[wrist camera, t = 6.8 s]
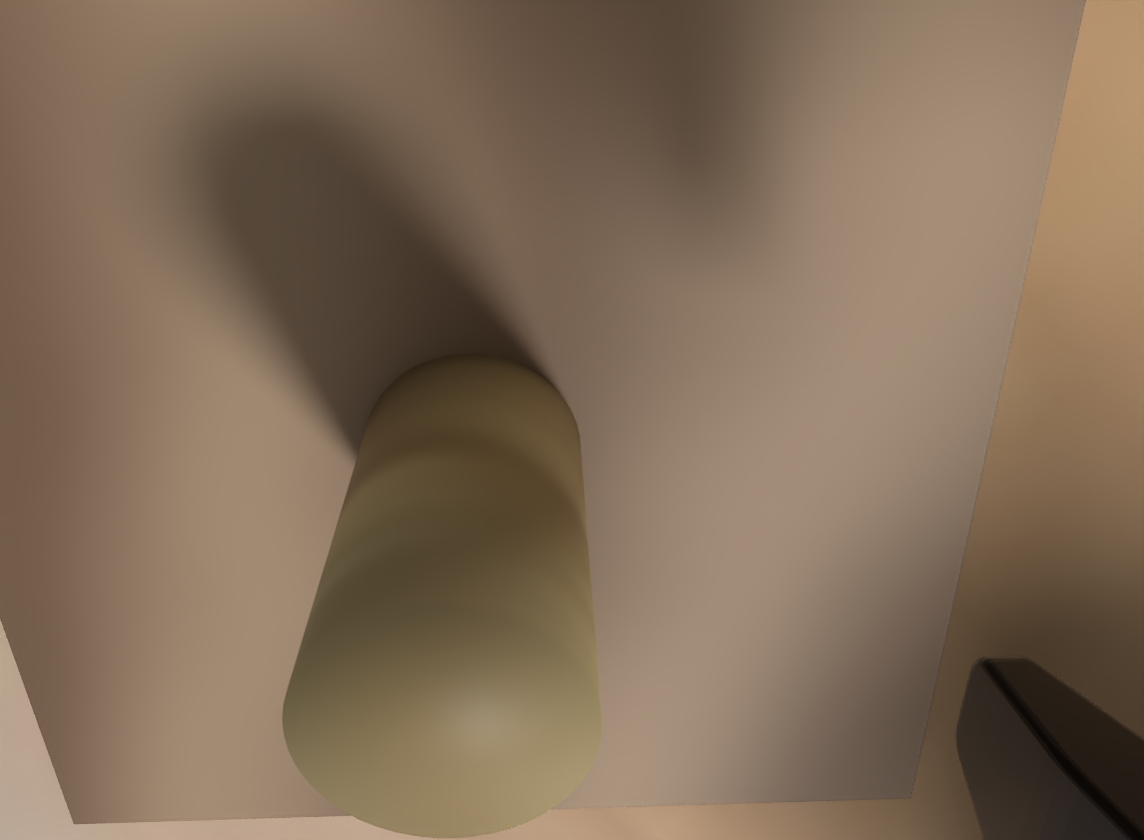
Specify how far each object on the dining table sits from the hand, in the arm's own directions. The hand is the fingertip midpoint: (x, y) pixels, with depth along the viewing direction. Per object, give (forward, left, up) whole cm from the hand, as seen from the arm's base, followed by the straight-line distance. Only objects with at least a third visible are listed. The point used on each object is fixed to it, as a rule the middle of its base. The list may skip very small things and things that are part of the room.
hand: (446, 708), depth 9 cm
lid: (0, 0, -5) cm, 5 cm away
